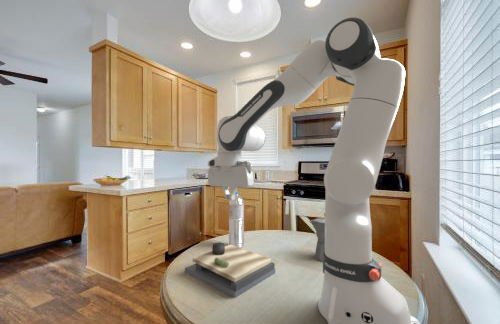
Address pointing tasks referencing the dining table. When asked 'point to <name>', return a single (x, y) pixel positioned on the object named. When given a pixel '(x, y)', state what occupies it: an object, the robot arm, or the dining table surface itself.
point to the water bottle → (236, 221)
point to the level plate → (231, 261)
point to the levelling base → (228, 285)
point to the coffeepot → (319, 237)
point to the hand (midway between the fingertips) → (229, 199)
